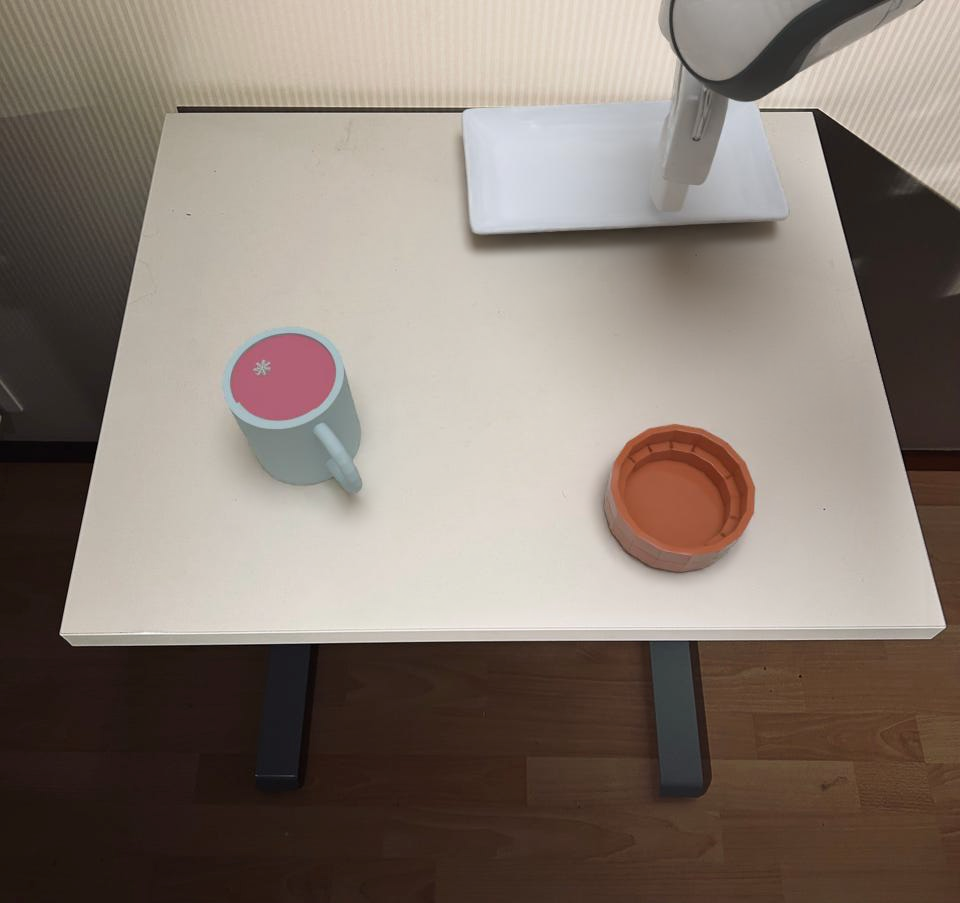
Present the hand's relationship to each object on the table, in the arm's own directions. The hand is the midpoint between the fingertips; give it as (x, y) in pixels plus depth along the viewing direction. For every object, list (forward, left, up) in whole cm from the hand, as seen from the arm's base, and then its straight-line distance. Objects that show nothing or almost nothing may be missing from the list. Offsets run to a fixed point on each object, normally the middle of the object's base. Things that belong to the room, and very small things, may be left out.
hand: (678, 147), depth 73 cm
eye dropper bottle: (0, 0, -6) cm, 6 cm away
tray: (+5, -4, -9) cm, 11 cm away
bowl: (-4, +32, -9) cm, 33 cm away
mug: (+26, +33, -9) cm, 43 cm away
